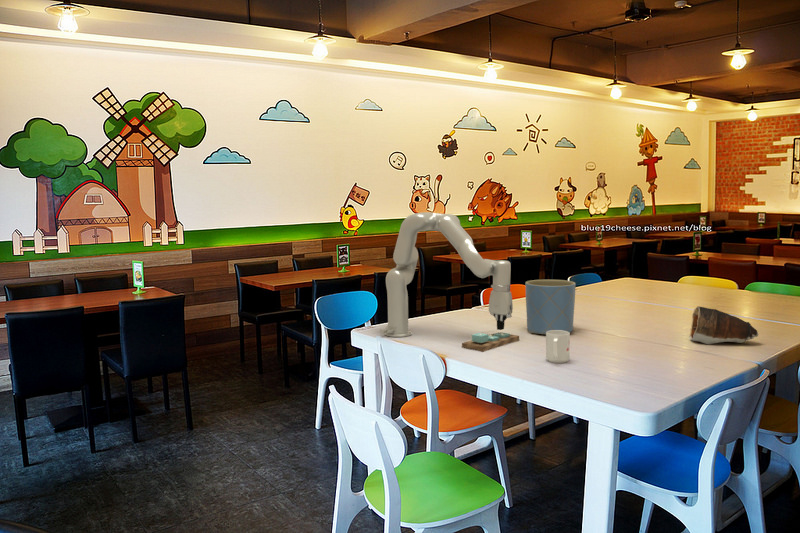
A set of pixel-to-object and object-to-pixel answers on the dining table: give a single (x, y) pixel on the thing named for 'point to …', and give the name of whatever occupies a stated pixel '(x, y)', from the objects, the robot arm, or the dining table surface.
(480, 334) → the tile one
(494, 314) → the robot arm
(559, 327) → the planter
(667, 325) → the dining table surface
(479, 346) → the board
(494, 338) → the tile two
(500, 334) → the tile three
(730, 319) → the brown wedge
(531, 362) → the dining table surface
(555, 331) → the mug
